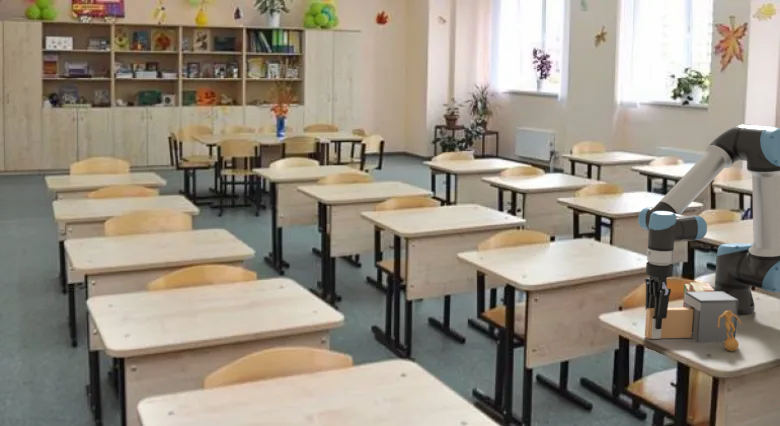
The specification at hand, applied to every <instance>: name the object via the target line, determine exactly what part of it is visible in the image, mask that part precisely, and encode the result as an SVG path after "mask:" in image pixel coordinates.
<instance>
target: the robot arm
mask: <svg viewBox="0 0 780 426" xmlns="http://www.w3.org/2000/svg"><path fill="white" fill-rule="evenodd" d="M738 161H745V162H746V170H747V171H748V172H749V173H750V174H751V175H752V176H751V178H752V179H751V180H752V181H751V182H752V189H751V190H752V231H753V232H752V237H753V239H752V241H753V242H752V243H746V242H745V243H744V242H729V243H722V244H720V245H719V246H718V248H717V254H716V260H715V261H716V263H715V274H714V275H715V276H714V286H713V287H712V288H713V289H714V291H723V292H725V293H727V294H729V295H730V296H732V297H734V298H736V299H738V300H739V304H738V315H737V316H748V315H751V314H754V313H755V309H756V308H755V306H756V305H755V301H754V298H753V293H752V287H754V288H756V289H761V290H764V291H765V292H771V293H780V127H776V126H770V125H769V126H768V125H767V126H765V125H756V124H755V125H754V124H753V125H752V124H745V123H744V124H739V125H736V126H733V127H731V128H730V129H727V130H725V131H724V132H722V133H721V134H720V135H718V136H717V137H716V138H715V139H714V140H713V141H712V142H711V143H709V145H707V147H706V149H705V153H704V154H703V155H702V156H701V158H700V159H698V160H697V162H695V164H694V165H693V166H692V167H691V168H690V169H689V170H688V171H687V172H686V173H685V174H684V175H683V176H682V177H681V179H680V180H678V182H676V183H675V185H674V186H673V187H672V188H671V189H670V190H669V191H667V193H666V194H665V195H664V196H663V197H662V198H661V199H660V200H659V201H658V203H656V204H655V205H654V206H653V207H652V206H650V207H648V206H647V207H645V208H642V209H641V211H639V214H638V218H637V219H638V220H637V221H638V225H639V227H641V229H643V230H645V231H648V232H647V233H648V237H647V238H648V239H647V251H646V252H645V254H646V261H647V262H646V265H645V266H646V267H645V274H646V275H647V276H649V277H648V278H645V280H644V282H645V311H647V308H655V315H654V316H652V318H653V323H652V337H651V338H652V340H656V339H657V340H660V339H662V338H661V330H662V319H663V318H666V317H667V309H668V308H669V301H670V296H671V292H672V289H671V288H668V283H667V282H668V280H667V279H668V278H669V277H670V278H671V276H672V275H673V274H672V273H673V264H672V263H673V261H674V253H675V252H674V251H675V250H674V248H675V243H679V242H694V241H697V240H701V239H703V238H704V237H705V236H706V235H707V233H708V225H707V221H706V220H705V218H704V217H702V215H701V216H700V215H693V214H691V215H683V214H682V213H683V212H684V211H685V210H686V209H687V208H688V207H689V205H691V204H692V203H693V202H694V201H695V199H696V198H698V196H699V195H700V194H701V193H702V192H703V191H704V190H705V189H706V188H707V187H708V186H709V185H710V184H711V183H712V182H713V181H714V179H716V177H717V176H718V175H719V174H720V173H721V172H722V171H723V170H725V169H728V168H730V167H731V166H733V164H734V163H735V162H738Z"/></svg>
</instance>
